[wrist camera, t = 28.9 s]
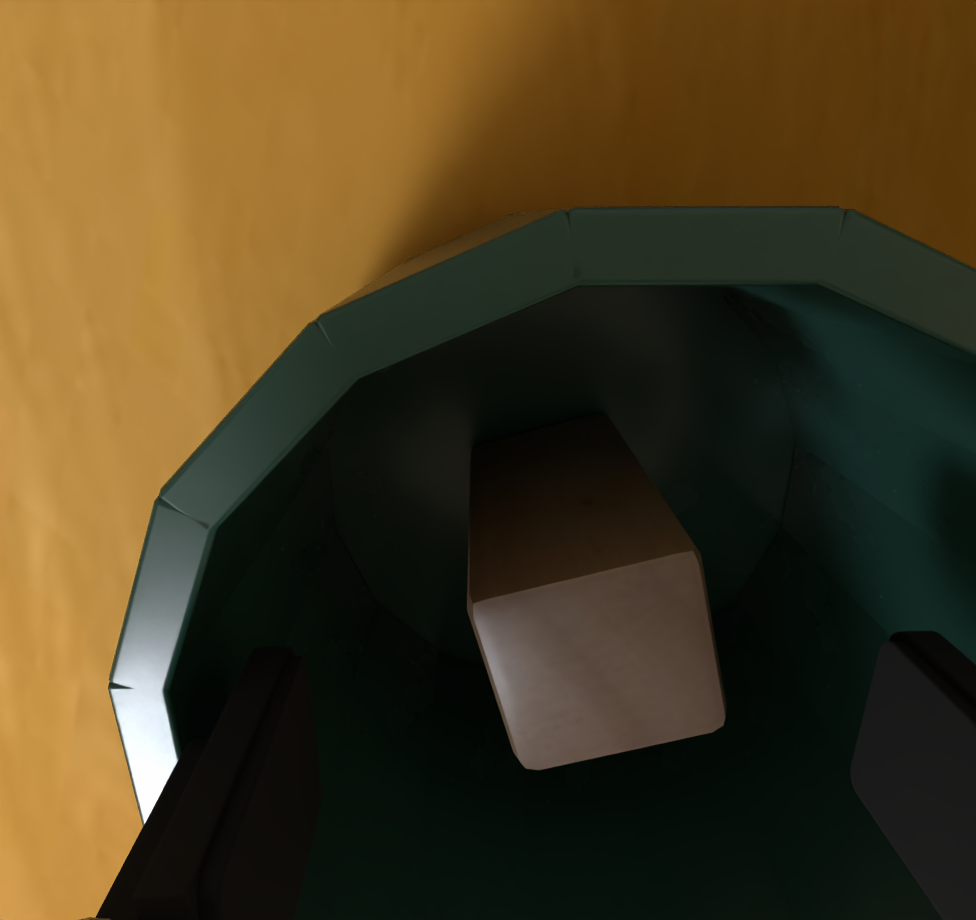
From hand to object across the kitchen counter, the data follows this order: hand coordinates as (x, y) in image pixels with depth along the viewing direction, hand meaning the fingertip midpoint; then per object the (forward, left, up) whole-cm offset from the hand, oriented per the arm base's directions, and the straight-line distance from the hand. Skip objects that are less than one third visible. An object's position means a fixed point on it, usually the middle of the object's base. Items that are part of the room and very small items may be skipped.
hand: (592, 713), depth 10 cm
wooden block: (0, 0, -9) cm, 9 cm away
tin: (+1, 0, -9) cm, 9 cm away
